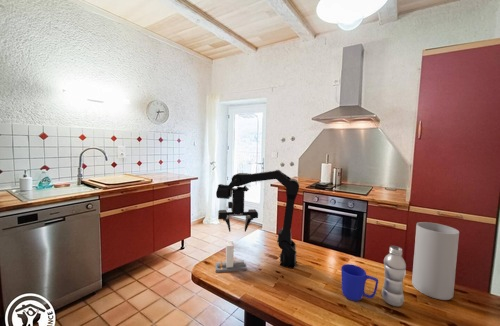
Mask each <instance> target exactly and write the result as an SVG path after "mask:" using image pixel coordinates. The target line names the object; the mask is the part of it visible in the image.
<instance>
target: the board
mask: <svg viewBox="0 0 500 326" xmlns="http://www.w3.org/2000/svg"><path fill="white" fill-rule="evenodd" d="M246 270H247V267H246V263H245V262H244V266H233V267H229V268H226V267H217V262H215V273H227V272H239V271H241V272H242V271H246Z"/></svg>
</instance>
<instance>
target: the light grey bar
mask: <svg viewBox="0 0 500 326" xmlns="http://www.w3.org/2000/svg"><path fill="white" fill-rule="evenodd" d="M216 263H217V267H226V260H223V261H222V260H220V261H216ZM244 263H245V261H244V260H233V266H244Z"/></svg>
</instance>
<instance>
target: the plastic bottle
mask: <svg viewBox="0 0 500 326" xmlns="http://www.w3.org/2000/svg"><path fill="white" fill-rule="evenodd" d="M388 249H389V250H388V252H389V253H388V254H386V255H385V257H384V259H383V267H384V279H383V286H382V288H381V297H382V299H383V300H384V302H385V303H386V304H388V305H391V306H393V307H402V305H404V303H405V296H404V287H403V286H404V285H403V283H404V278H405V277H404V273H405V270H406V269H407V264H406V261H405V259H404V258H403V248H402V247H400V246H397V245H390V246H389V248H388ZM403 277H404V278H403Z"/></svg>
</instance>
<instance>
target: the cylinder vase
mask: <svg viewBox="0 0 500 326" xmlns="http://www.w3.org/2000/svg"><path fill="white" fill-rule="evenodd" d="M459 236H460V231H459V230H458V229H457V228H455V227H451V226H449V225H446V224H445V225H444V224H441V223H436V222H429V221H428V222H427V221H425V222H424V221H421V222H419V221H418V222H416V226H415V241H414V252H413V262H412V263H413V265H412V278H411V285H412V286H413V288H415V289H416V290H417V291H418V292H420V293H421V294H422V295H425V296H427V297H430V298H431V299H432V298H433V299H437V300H441V301H442V300H443V301H449V300H451V299H453V298H454V292H455V290H454V289H455V283H456V282H455V281H456V270H457V269H456V268H457V258H458V250H459V238H460V237H459Z"/></svg>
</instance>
